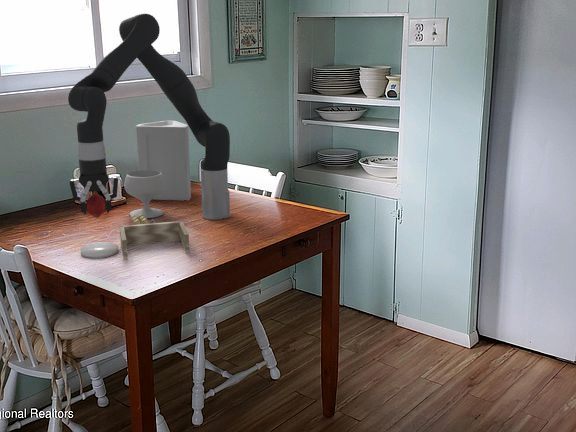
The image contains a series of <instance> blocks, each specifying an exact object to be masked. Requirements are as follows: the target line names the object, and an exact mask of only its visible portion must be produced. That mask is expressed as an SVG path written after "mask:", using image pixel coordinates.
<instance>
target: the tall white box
mask: <svg viewBox="0 0 576 432" xmlns="http://www.w3.org/2000/svg"><path fill="white" fill-rule="evenodd" d="M135 133H136V136H135V137H136V150H137V167H138V168H137V170H157V171H160V172H161V173H162V175H163V177H164V180H165V188H164V190H163V192H162V193H160V194H159V195H157V196H156V197H154V198H152V199H151V200H160V201H184V200H187V201H190V199H191V198H192V194H191V193H192V190H191V189H192V187H191V186H192V185H191V165H190V161H191V160H190V139H189V126H188V124H187V123H183V122H180V121H177V120H162V121H153V122H146V123H145V122H144V123H139V124H136V125H135Z"/></svg>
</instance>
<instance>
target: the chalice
mask: <svg viewBox="0 0 576 432" xmlns="http://www.w3.org/2000/svg"><path fill="white" fill-rule="evenodd" d="M123 186H124V190H125V191H126V193H127V194H128V195H130V196H132V197H134V198H136V199H138V200H140V202H142V204H143V207H142V208H139V209H135V210H134V209H133V210H132V211H130V212H129V214H128V215H129V217H131V216H132V215H134V214H135V216H136V217H137V218H138V219H139V217H138V215H139V214H143V216H145V218H146V219H151V218H153V219H154V218H157V217H161V216H163V215H164V214H165V213H164V210H163V209H159V208H150V205H149V204H150V201H152V200H153V199H152V198H154V197H156V196H157V195H159V194H160V193H162V192H163V190H164V188H165V180H164V177H163V175H162V173H161V172H160V171H157V170H139V169H136V170H132V171H131V170H130V172H127V174H126V176H125V178H124V185H123Z"/></svg>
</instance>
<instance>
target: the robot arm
mask: <svg viewBox="0 0 576 432" xmlns="http://www.w3.org/2000/svg"><path fill="white" fill-rule="evenodd" d="M118 31H119V32H118V33H119V37H120V38H121V40H122V42H121V43H120V44H119V45H118V46H116V47H115V48H114V49H113V50H111V51H110V52H109V53H108V54H106V55H105V56H104V57H103V58H102V59H101V60H100V61H99V63H98V64H97V65H96V66H95V68H94V69H93V70H92V72H91V73H89V74H88V75H85V76H84V78H82V79H80V80H79V81H78V82H77V83H76V84H74V86H72V88H71V89H70V91H69V93H68V95H67V96H68V97H67V100H68V102H67V103H68V105H69V107H70V108H71V109H72V110H74V111H77V112H84V113H85V112H87V116H86V119H82V120H80V121H78V122H77V124H76V133H77V135H76V136H77V158H78V167H79V177H78V178H74V179H73V178H71V179H69V186H70V191H71V195H72V198H73V200H74V201H77V202H80V211H81V213H83V214H84V215H87V210H86V202H87V200H86V198H87V196H88V193H89V192H90V193H91V192H93V193H94V192H95V191H97V192H102V194H103V196H104V197H105V201H106V213H108V214H109V213H110V211H112V199H116V198H117V197H118V189H119V188H118V186H119V177H118V176H117V175H116V176H109V174H108V173H107V171H108V170H107V159H106V155H107V154H106V148H105V144H104V143H105V142H104V131H103V130H104V129H103V125H104V120H105V115H106V110H107V104H108V103H107V96H106V94H105V93H107V92H109V91H111V90H112V89H113V88H114V86H115V85H116V84H117V82H118V81H119V80H120V78H121V77H122V76H123V74H124V73H125V72H126V71H127V70H128V69H129V67H130V66H131V65H132V64H133V62H134V61H136V59H137V60H138V61H139V62H140V63H141V64H142V65H143V66H144V68H145V70H147V72H148V73H149V74H150V76H151V77H152V78H153V80H154V81H155V82H156V84H157V85H158V86H159V88H160V89H161V91H162V92H163V94H164V95H165V96H166V98H167V99H168V100H169V102H170V103H171V104H172V106H174V108H175V110H176V111H177V112H178V114H179V115H180V116H181V117H182V118H183V119H184V121H185V122H186V125H188V128H189V129H190V131H191V132H192V135H193V137H194V138H195V139H196V141H197V142H198V144H200V145H201V146H202V147H204V148H205V149H204V150H205V153H204V158H203V159H201V160H200V163H199V164H200V166H199V167H200V189H201V191H200V192H201V193H200V194H201V215H202V218H203V219H206V220H215V221H216V220H223V218H224V219H226V218H230V217H231V206H230V205H231V198H230V190H229V180H228V179H229V178H228V176H229V175H228V174H229V172H228V163H229V161H230V157H231V156H230V155H231V154H230V149H231V146H230V145H231V139H230V138H231V137H230V132H229V129H228V127H227V126H226V125H225V124H223V123H221V122H218V121H214V120H213V119H212V118H211V117H210V116H209V115H208V114H207V113H206V111H205V110H204V109H203V107H202V106H201V104H200V101H199V97H198V94H197V91H196V88H195V86H194V84H193V83H192V81H191V80H190V78H189V77H188V75H187V74H186V72H185V71H184V70H183V69H182V67H180V66H179V65H178V64H175V63H174V62H173V61H171V60H170V59H167V58H166V57H165V56H163V55H162V54H161V53H159V52H158V51H157V50H156V49H155V47H154V46H153V43H155V42H156V41H157V40H158V38H159V36H160V31H161V30H160V24H159V21H158V20H157V19H156V17H154V16H153V15H152V14H149V13H141V14H140V13H139V14H137V15H134V16H131V17H128V18H125V19H124V20H121V22H120V23H119V27H118ZM108 182H110V185H111V186H112V192H111V193H109V191H108V189H107V188H106V186H107V184H108ZM78 184H80V185H81V186H82V187H83V190H82V193H81V195H78V192H77V187H78Z"/></svg>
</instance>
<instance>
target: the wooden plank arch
mask: <svg viewBox="0 0 576 432" xmlns="http://www.w3.org/2000/svg"><path fill="white" fill-rule="evenodd" d="M119 237H120V239H119V241H120V247H121V253H122V258H123V261H125V260H129V258H128V246H133V245H134V246H135V245H146V244H147V245H148V244H157V243H168V242H180V243H181V246H182V248H183V251H184V254H185V255H190V254H191V253H190V234H189V232H188V230H187V228H186V226H185V224H184V222H183V220H178V221H167V222H164V221H163V222H156V223H152V224H150V223H149V224H142V223H141V224H139V225H135V224H131V225H129V224H128V225H119Z"/></svg>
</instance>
